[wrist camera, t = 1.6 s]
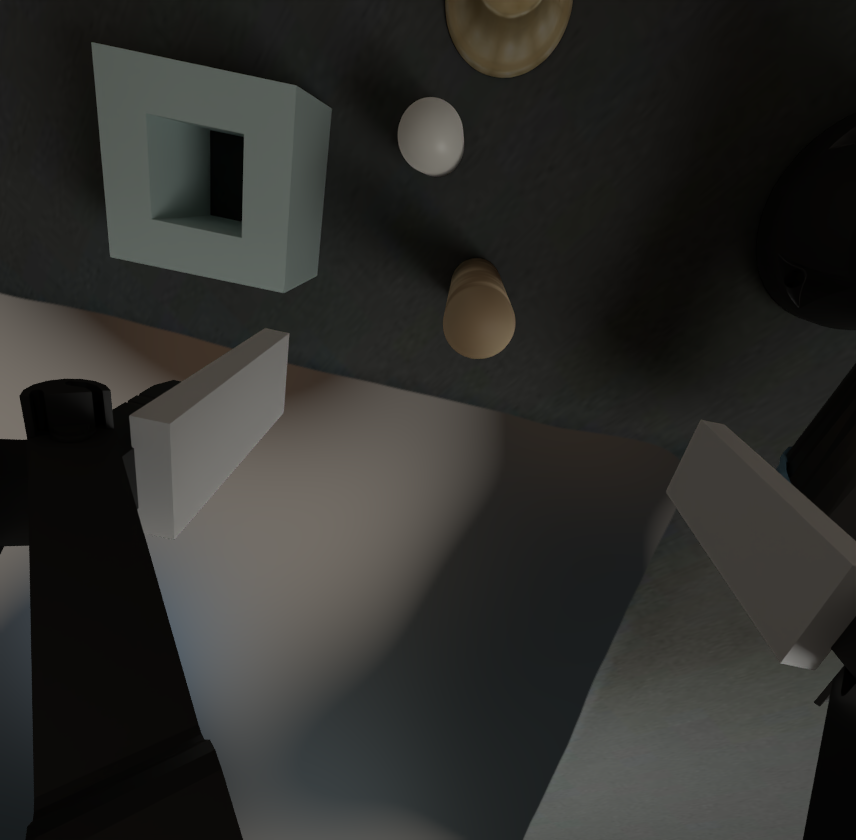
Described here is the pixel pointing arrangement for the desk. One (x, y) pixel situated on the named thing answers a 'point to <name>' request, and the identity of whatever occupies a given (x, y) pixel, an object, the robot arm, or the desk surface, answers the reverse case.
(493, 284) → the long pin
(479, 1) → the hand bell
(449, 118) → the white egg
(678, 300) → the desk surface
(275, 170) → the hole block
